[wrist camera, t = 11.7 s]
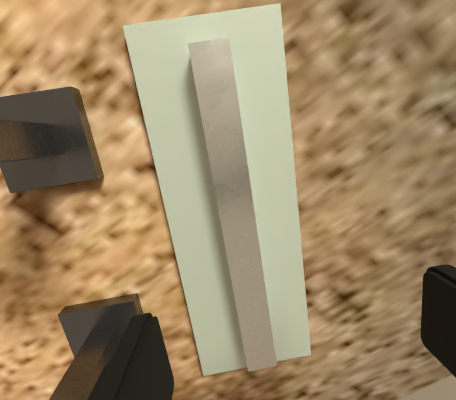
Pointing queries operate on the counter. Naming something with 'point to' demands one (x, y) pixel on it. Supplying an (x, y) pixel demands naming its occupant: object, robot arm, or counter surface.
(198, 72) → the rail
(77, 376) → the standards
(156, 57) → the board
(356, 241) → the counter surface
